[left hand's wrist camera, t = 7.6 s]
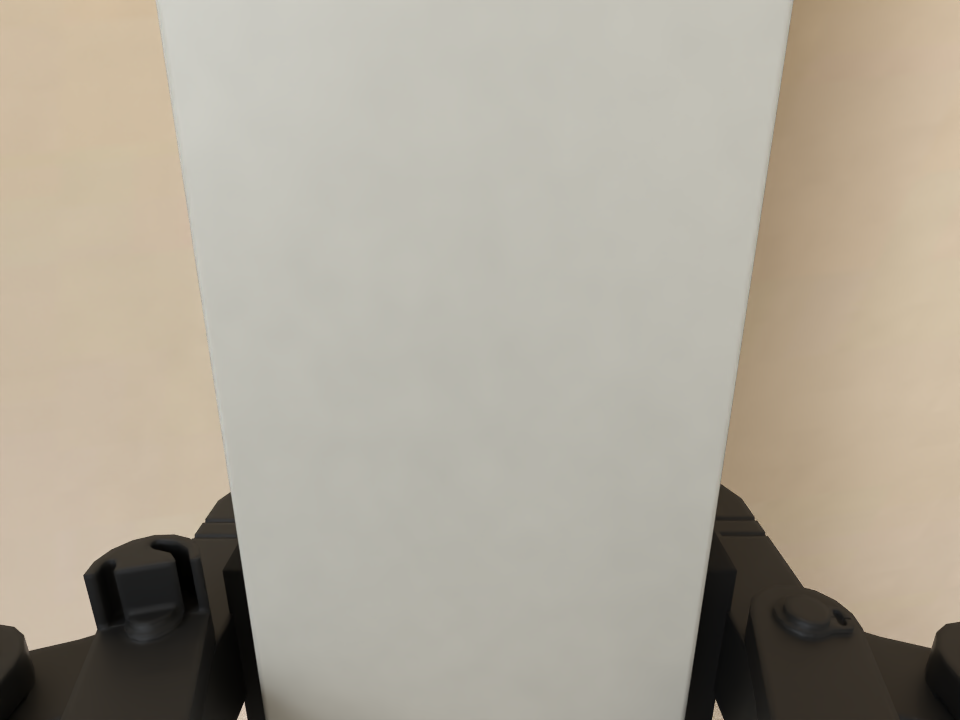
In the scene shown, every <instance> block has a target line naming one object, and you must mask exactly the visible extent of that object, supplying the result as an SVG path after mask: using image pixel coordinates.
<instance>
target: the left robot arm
mask: <svg viewBox="0 0 960 720" xmlns="http://www.w3.org/2000/svg"><path fill="white" fill-rule="evenodd" d="M205 520H206V521H205V523H202V525H201V526H200V528H199V529H198V531H197V532H196V534H195V538H194V539H190V538H186V537H182V536H178V535H153V536H149V537H145V538H141V539H136V540H132V541H130V542H128V543H126V544H123V545H121V546H119V547H116V548H114V549H112V550H110V551H109V552H107V553H106V554H105V555H103V556H102V557H100V558H99V559H97V560H96V561H95V562H94V563H93V564H92V565H91V566H90V568H89V569H88V570H87V571H86V573H85V574H84V575H83V576H84V580H85V584H86V588H87V591H88V595H89V599H90V603H91V607H92V610H93V614H94V618H95V622H96V626H97V629H98V630H97V632H96V634H95V635H93V636H90V637H86V638H83V639H80V640H75V641H71V642H67V643H62V644H58V645H54V646H49V647H45V648H40V649H36V650H32V651H29V650H28V647H27V644H26V641H25V638H24V635H23V634H22V633H21V632H19V631H18V630H17V629H16V628H15V627H11V626H5V625H0V720H237V718H238V716H239V713H240V711H241V708H242V706H243V703H244V701H245V707H246V713H247V719H248V720H266V719H265V713H264V706H263V700H262V693H261V687H260V680H259V674H258V667H257V661H256V654H255V647H254V641H253V634H252V628H251V621H250V615H249V608H248V602H247V595H246V589H245V582H244V575H243V569H242V562H241V556H240V549H239V543H238V536H237V530H236V523H235V516H234V510H233V503H232V497H231V492H230V493H229V494H227V495H226V496H224V497H223V498H222V499H220V500H219V501H218V502H217V503H216V505H215V506H214V508H213V509H212V511H211V512H210V513H209V515H208V516H207V518H206V519H205ZM715 699H716V701H717V704H718V706H719V709H720V711H721V713H722V716H723V718H724V720H960V622H956V623H950V624H946V625H945V626H943V627H942V628H941V629H940V630H939V631H938V632H937V633H936V636H935V639H934V642H933V645H932V648H927V647H923V646H919V645H914V644H910V643H905V642H901V641H896V640H892V639H888V638H883V637H879V636H876V635H873V634H869V633H866V632H864V631H863V629H862V627H861V626H860V624H859V623H858V621H857V620H856V618H855V617H854V615H853V614H852V613H851V612H849V611H848V610H847V609H846V608H844V607H843V606H842V605H841V604H840V603H838V602H837V601H836V600H834V599H832V598H829V597H827V596H825V595H823V594H821V593H819V592H817V591H815V590H811V589H807V588H804V587H803V586H802V584H801V583H800V581H799V580H798V579H797V577H796V576H795V574H794V573H793V571H792V570H791V569H790V567H789V566H788V564H787V563H786V561H785V560H784V559H783V557H782V556H781V554H780V553H779V551H778V550H777V549H776V547H775V546H774V544H773V543H772V541H771V540H770V538H769V537H768V536H765V531H764V530H763V528H762V527H761V526H760V524H759V523H758V521H755V519H754V516H753V514H752V513H751V511H750V510H749V508H748V507H747V506H746V504H745V503H744V501H743V500H742V499H741V498H740V497H739V496H737V495H736V494H734V493H733V492H731V491H730V490H729V489H727V488H726V487H724V486H723V485H721V484H720V489H719V495H718V502H717V509H716V515H715V522H714V528H713V535H712V542H711V548H710V555H709V561H708V568H707V575H706V581H705V588H704V594H703V601H702V608H701V614H700V621H699V627H698V634H697V641H696V647H695V654H694V660H693V667H692V673H691V680H690V687H689V693H688V700H687V706H686V713H685V720H712V716H713V710H714V704H715Z"/></svg>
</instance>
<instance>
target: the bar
mask: <svg viewBox="0 0 960 720" xmlns="http://www.w3.org/2000/svg"><path fill="white" fill-rule="evenodd" d="M156 6H157V12H158V19H159V25H160V32H161V38H162V45H163V51H164V58H165V65H166V71H167V78H168V84H169V91H170V97H171V104H172V110H173V117H174V123H175V130H176V137H177V143H178V150H179V156H180V163H181V169H182V176H183V182H184V189H185V196H186V202H187V209H188V215H189V222H190V228H191V235H192V241H193V248H194V254H195V261H196V268H197V274H198V281H199V287H200V294H201V300H202V307H203V313H204V320H205V327H206V333H207V340H208V346H209V353H210V359H211V366H212V372H213V379H214V385H215V392H216V399H217V405H218V412H219V418H220V425H221V431H222V438H223V444H224V451H225V458H226V464H227V471H228V477H229V484H230V490H231V497H232V503H233V510H234V516H235V523H236V530H237V536H238V543H239V549H240V556H241V562H242V569H243V575H244V582H245V589H246V595H247V602H248V608H249V615H250V621H251V628H252V634H253V641H254V647H255V654H256V661H257V667H258V674H259V680H260V687H261V693H262V700H263V706H264V713H265V719H266V720H685V713H686V706H687V700H688V693H689V687H690V680H691V673H692V667H693V660H694V654H695V647H696V641H697V634H698V627H699V621H700V614H701V608H702V601H703V594H704V588H705V581H706V575H707V568H708V561H709V555H710V548H711V542H712V535H713V528H714V522H715V515H716V509H717V502H718V495H719V489H720V482H721V476H722V469H723V462H724V456H725V449H726V443H727V436H728V429H729V423H730V416H731V410H732V403H733V396H734V390H735V383H736V377H737V370H738V363H739V357H740V350H741V344H742V337H743V330H744V324H745V317H746V311H747V304H748V297H749V291H750V284H751V278H752V271H753V264H754V258H755V251H756V245H757V238H758V231H759V225H760V218H761V212H762V205H763V198H764V192H765V185H766V179H767V172H768V165H769V159H770V152H771V146H772V139H773V132H774V126H775V119H776V113H777V106H778V99H779V93H780V86H781V80H782V73H783V66H784V60H785V53H786V47H787V40H788V33H789V27H790V20H791V14H792V7H793V0H156Z"/></svg>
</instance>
